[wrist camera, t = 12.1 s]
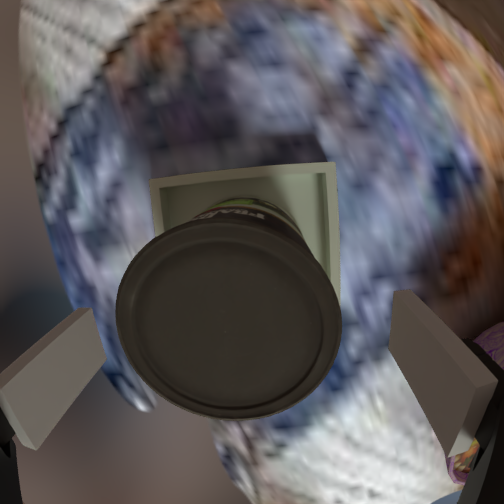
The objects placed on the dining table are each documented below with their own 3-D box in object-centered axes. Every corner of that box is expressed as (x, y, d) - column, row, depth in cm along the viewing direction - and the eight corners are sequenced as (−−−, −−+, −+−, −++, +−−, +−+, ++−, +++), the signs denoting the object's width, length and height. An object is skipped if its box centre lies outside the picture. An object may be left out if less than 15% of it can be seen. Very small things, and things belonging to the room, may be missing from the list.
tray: (160, 178, 27) (148, 179, 24) (328, 163, 26) (335, 161, 23) (182, 331, 30) (175, 345, 27) (333, 322, 29) (339, 336, 26)
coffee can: (167, 221, 27) (79, 268, 13) (281, 177, 26) (298, 179, 12) (213, 326, 29) (175, 435, 15) (321, 291, 28) (363, 389, 14)
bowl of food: (549, 296, 27) (604, 329, 16) (495, 418, 32) (529, 464, 21) (446, 282, 28) (515, 331, 16) (388, 431, 32) (415, 500, 21)
